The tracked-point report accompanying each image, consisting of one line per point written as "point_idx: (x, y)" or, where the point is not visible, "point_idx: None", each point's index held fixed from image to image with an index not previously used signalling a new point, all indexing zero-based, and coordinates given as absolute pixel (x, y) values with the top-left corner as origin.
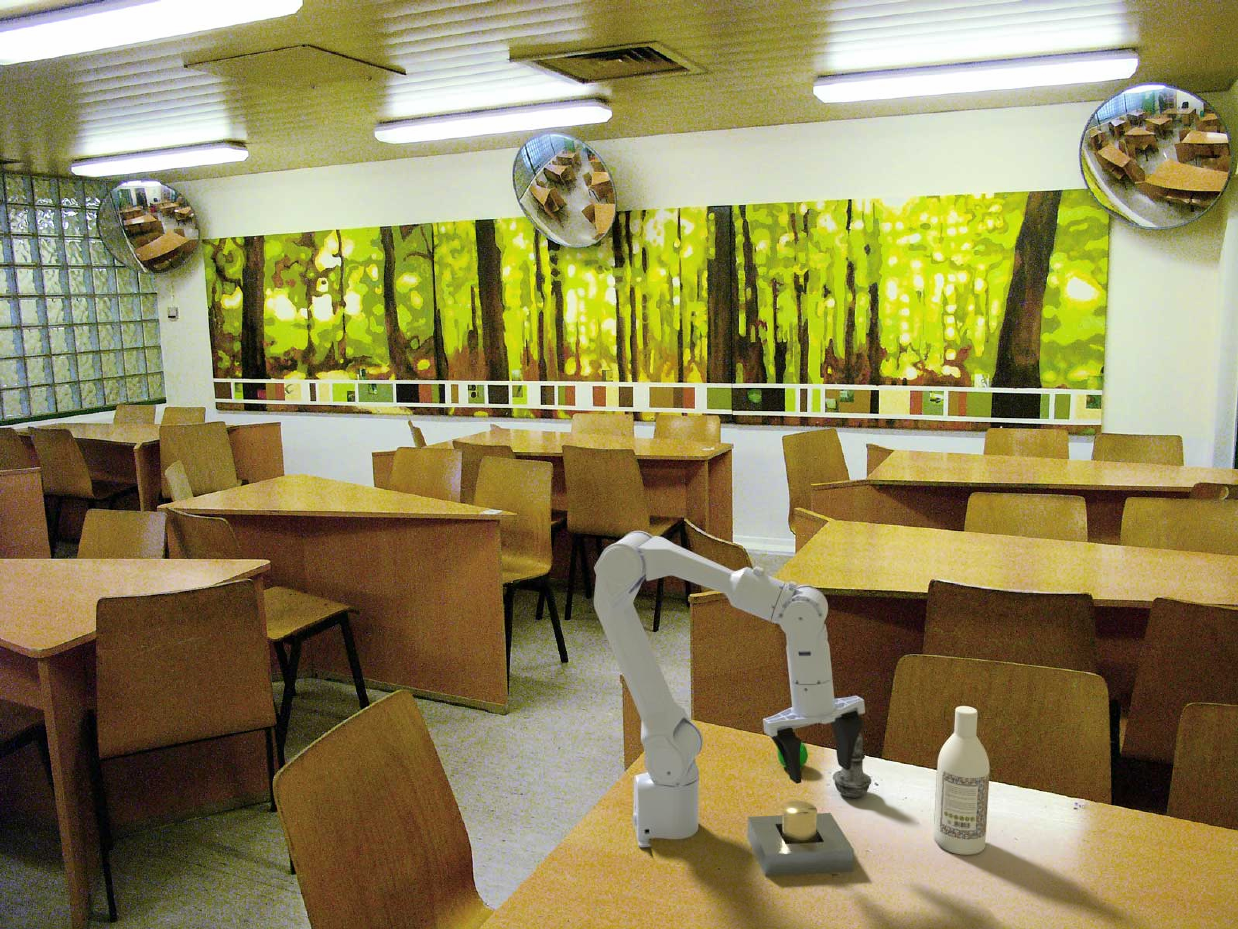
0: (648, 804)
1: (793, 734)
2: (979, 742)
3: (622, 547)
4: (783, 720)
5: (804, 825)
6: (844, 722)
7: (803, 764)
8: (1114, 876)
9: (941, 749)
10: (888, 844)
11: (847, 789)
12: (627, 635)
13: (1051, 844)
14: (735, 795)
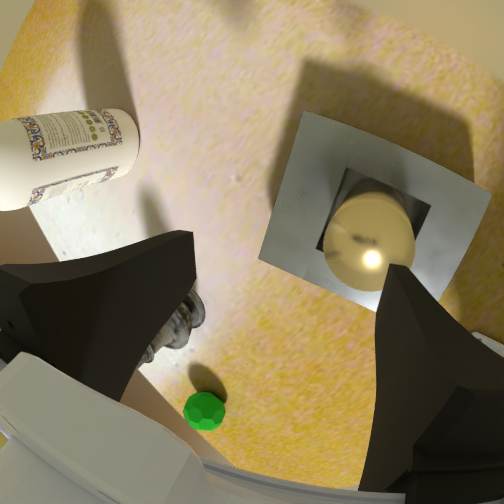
0: None
1: (427, 459)
2: None
3: None
4: None
5: (388, 200)
6: (48, 342)
7: (200, 392)
8: (49, 48)
9: (5, 197)
10: (197, 179)
11: (181, 311)
12: None
13: (53, 112)
14: (327, 402)
